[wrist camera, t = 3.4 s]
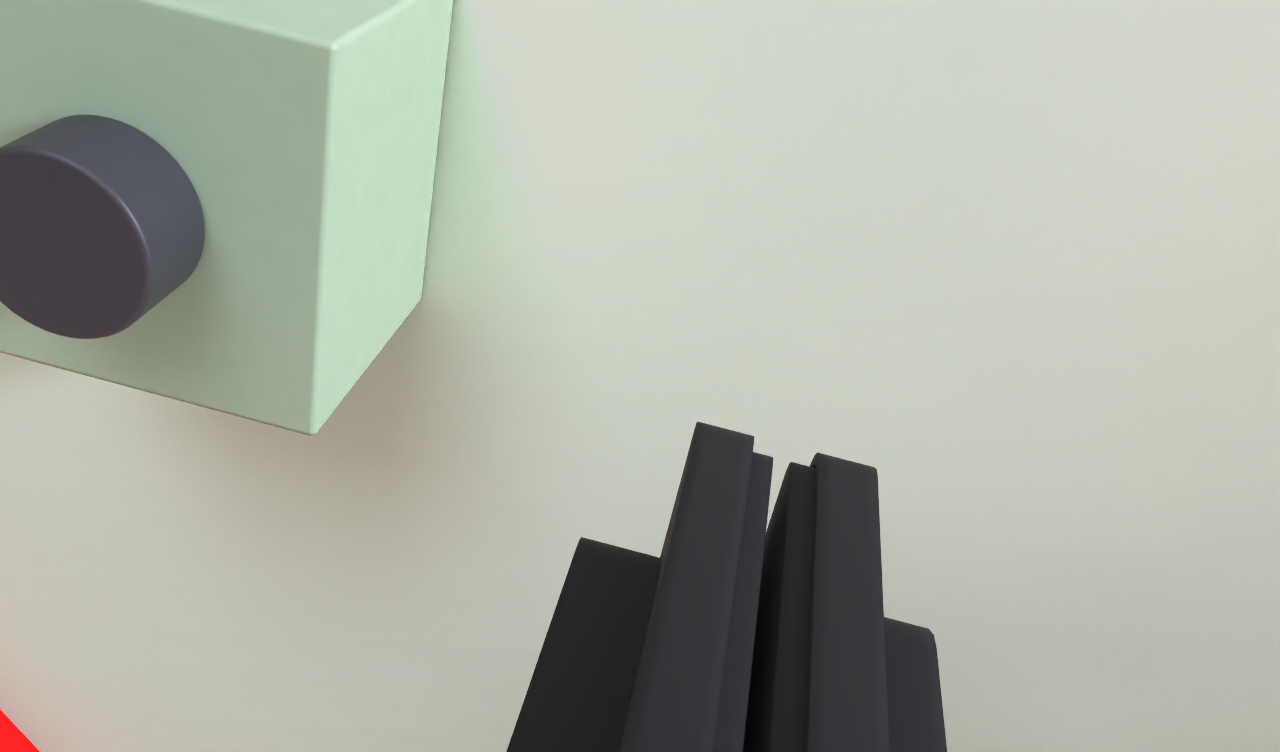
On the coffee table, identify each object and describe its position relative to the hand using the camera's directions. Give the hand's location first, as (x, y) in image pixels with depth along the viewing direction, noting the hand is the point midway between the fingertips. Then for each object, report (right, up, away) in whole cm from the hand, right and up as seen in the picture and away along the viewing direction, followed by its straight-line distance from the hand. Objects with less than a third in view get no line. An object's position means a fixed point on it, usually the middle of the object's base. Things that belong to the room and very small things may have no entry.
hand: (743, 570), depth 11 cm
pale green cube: (-6, +6, +6) cm, 10 cm away
